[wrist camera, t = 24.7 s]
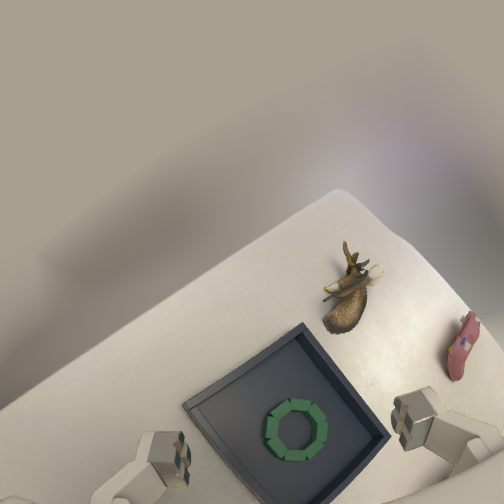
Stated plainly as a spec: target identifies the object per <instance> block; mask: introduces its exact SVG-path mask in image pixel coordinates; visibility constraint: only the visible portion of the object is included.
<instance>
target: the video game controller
mask: <svg viewBox="0 0 504 504" xmlns="http://www.w3.org/2000/svg"><path fill="white" fill-rule="evenodd" d="M463 317H464V315H463V316H462V317H461V319H460V323H461V321H462V326H461V328H460V330H459V332H458V334H457V336H456V338H455V340H454V344H453V345H452V347H451V346H450V347H449V348H448V351H449V352H448V354H447V357H448V372H449V376H450V378H451V379H452V380H455V381H458V380H460V379H461V378H462V376H463V374H464V366H465V361H466V359H467V357H468V355H469V353H470V351H471V349H472V347H473V345H474V343H475V342H476V341H477V339H478V337H479V333H480V329H479V327H480V320H481V319H480V318H478V316H477V315H476V314H475V313H473V312H471V311H469V313H468V314H467V315H466V316H465V317H464V318H463Z"/></svg>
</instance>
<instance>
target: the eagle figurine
mask: <svg viewBox="0 0 504 504" xmlns="http://www.w3.org/2000/svg"><path fill="white" fill-rule="evenodd" d="M343 251H344V254H345V255H346V259H347V263H348V268H347V271H346V275H347V277H344V278H342V279H340V280H339V281H337V282H335V283H333V284H331V285H330V286H328V287H324V289H325V290H328V291H330V292H334V291H336V292H334V293H333V294H332V295H331V296H329V297H327V298H326V299H324V300H323V302H326V301H327V300H329V299H330V298H333V297H343V298H342V300H341V301H340V303H339V304H338V305H337V307H336V308H335V309H333V310H332V311H331V312H329V314H327V315H326V316H325V317H324V318H323V320H324V321H325V323H324V325H325V326H326V327H327V331H330V332H331V334H333V333H336V334H340V333H341V332H343V333H345V332H346V331H347V332H349V331H350V330H352V329H353V328H354V327H355V326H356V325H357V324H358V322H359V320H360V318H361V316H362V314H363V312H364V308H365V306H366V303H367V294H366V293H367V292H366V286H367V285H369V286H374V285H376V284H377V283H378V281H379V279H380V278H381V277H382V274H383V269H382V267H381V266H379V265H375V266H374V267H372V268H371V269H370V270H369V272H368V271H367V270H365V269H363V268H361V267H365V266H366V265H367V264H368V263H369V259H368V260H367V261H365V262H363V263H358V264H356V261H357V258H358V255H359V253H357V252H356V253H354V254H353V255H352V256H351V255H350V253H349V251H348V248H347V243H346V242H345V241H343ZM364 270H365V272H364V274H361V273H360V271H364Z"/></svg>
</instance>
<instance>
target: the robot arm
mask: <svg viewBox="0 0 504 504" xmlns="http://www.w3.org/2000/svg"><path fill="white" fill-rule="evenodd" d="M393 404H394V406H395V408H394V410H393V411H392V414H391V423H392V427H393V429H394V431H395V433H397V434H399V435H400V439H399V441H400V443H401V445H402V447H403V449H404V451H405V452H406V451H409V450H412V449H415V448H418V447H421V446H424V447H425V448H427V449H429V450H430V451H432V452H433V453H435V454H437V455H438V456H440V457H441V458H443V459H445V460H446V461H448V462H450V463H451V464H453V465H455V467H454V469H453V470H452V472H451V474H450V476H449V478H448V479H446V480H444V481H441V482H439V483H437V484H434V485H432V486H430V487H427V488H425V489H422V490H420V491H417V492H415V493H412V494H409V495H407V496H404V497H401V498H398V499H395V500H392V501H389V502H386V503H383V504H504V437H503V436H502V435H501V433H500V432H499V431H498V429H497V428H496V427H495V426H492V425H490V424H487V423H484V422H482V421H479V420H477V419H474V418H471V417H469V416H466V415H464V414H461V413H459V412H456V411H454V410H449V411H448V409H447V408H446V406H445V405H444V404H443V402H442V401H441V400H440V398H439V397H438V395H437V394H436V393H435V391H434V390H433V389H432V387H430V386H428V387H425V388H422V389H419V390H416V391H413V392H410V393H406V394H403V395H400V396H397V397H396V398H395V399H394V403H393ZM184 438H185V437H184V435H183V433H182V431H144V432H143V433H142V435H141V438H140V442H139V445H138V449H137V452H136V456H135V460H134V461H130V462H129V463H128V464H127V465H126V466H125V467H123V468H122V469H121V470H120V471H119V472H117V473H116V474H115V475H114V476H113V477H111V478H110V479H109V480H108V481H107V482H105V483H104V484H103V485H102V486H100V487H99V488H98V489H97V490H95V491H94V492H93V493H92V496H91V499H90V502H89V504H155V503H156V501H157V500H158V499H159V498H160V497H161V495H162V494H163V493H164V492H165V491H166V489H167V487H188V484H189V475H190V474H189V472H188V470H187V468H188V467H189V466H190V465H191V452H190V448H189V446H188V444H187V443H186V442H184ZM0 504H39V503H36V502H33V501H30V500H27V499H24V498H22V497H19V496H9V497H7V498H5V499H3V500H1V501H0Z"/></svg>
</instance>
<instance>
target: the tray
mask: <svg viewBox="0 0 504 504" xmlns="http://www.w3.org/2000/svg"><path fill="white" fill-rule="evenodd" d="M290 398H296V399H304V400H311V403H314V402H315V403H316V405H317V406H318V407H319V408H320V410H321V411H322V412H323V413H324V415H325V416H326V417H327V419H325V420H324V421H327V422H328V432H327V442H322V443H323V444H324V445H325V446H324V447H323V448H322V449H321V450H320V451H319V452H318V453H317V454H316V455H314V456H313V457H312V458H311V459H310V460H306V461H284V460H280V458H276V457H275V456H274V455H273V454H272V453H271V451H270V450H269V449H268V448H267V447H266V445H265V444H264V443H263V442H264V441H265V440H266V439H265V438H262V432H263V424H264V417H267V416H268V415H267V412H269V411H270V410H271V409H272V408H274V407H275V406H276V405H278V404H279V403H280V402H281V401H283V400H286V399H290ZM182 407H183V408H184V409H185V411H186V412H187V414H188V415H189V416H190V418H191V419H192V420H193V422H194V423H195V424H196V426H197V427H198V429H199V430H200V431H201V432H202V434H203V435H204V436H205V438H206V439H207V440H208V442H209V443H210V444H211V445H212V447H213V448H214V449H215V450H216V452H217V453H218V454H219V455H220V457H221V458H222V459H223V460H224V461H225V463H226V464H227V465H228V466H229V467H230V469H231V470H232V471H233V472H234V473H235V475H236V476H237V477H238V478H239V479H240V480H241V481H242V483H243V484H244V485H245V486H246V487H247V488H248V489H249V490H250V492H251V493H252V494H253V495H254V496H255V497H256V498H257V499H258V500H259V501H260V502H261V503H262V504H329V503H330V502H331V501H333V500H334V499H335V498H336V497H337V496H338V495H339V494H340V493H341V492H342V491H343V490H344V489H345V488H346V487H347V486H348V485H349V484H350V483H351V482H352V481H353V480H354V479H355V478H356V477H357V475H358V474H359V473H360V472H361V471H362V470H363V469H364V468H365V467H366V466H367V465H368V464H369V462H370V461H371V460H372V459H373V458H374V457H375V456H376V454H377V453H378V452H379V451H380V450H381V449H382V447H383V446H384V445H385V444H386V443H387V441H388V440H389V439H390V438H391V435H390V433H389V432H388V431H387V430H386V428H385V427H384V426H383V424H382V423H381V422H380V421H379V419H378V418H377V417H376V415H375V414H374V413H373V412H372V410H371V409H370V408H369V406H368V405H367V404H366V403H365V401H364V400H363V399H362V397H361V396H360V395H359V394H358V392H357V391H356V390H355V388H354V387H353V386H352V385H351V383H350V382H349V381H348V379H347V378H346V377H345V376H344V374H343V373H342V372H341V370H340V369H339V368H338V367H337V365H336V364H335V363H334V361H333V360H332V359H331V358H330V356H329V355H328V354H327V352H326V351H325V350H324V349H323V347H322V346H321V345H320V343H319V342H318V341H317V340H316V338H315V337H314V336H313V334H312V333H311V332H310V331H309V329H308V328H307V327H306V325H305V324H304V323H303V322H302V323H300V324H299V325H298V326H296V327H295V328H294V329H292V330H291V331H290V332H288V333H287V334H286V335H284V336H283V337H281V338H280V339H279V340H277V341H276V342H274V343H273V344H272V345H270V346H269V347H267V348H266V349H265V350H263V351H262V352H260V353H259V354H257V355H256V356H255V357H253V358H252V359H250V360H249V361H247V362H246V363H244V364H243V365H241V366H240V367H238V368H237V369H235V370H234V371H232V372H231V373H229V374H228V375H226V376H225V377H223V378H222V379H220V380H219V381H217V382H216V383H214V384H213V385H211V386H210V387H208V388H206V389H205V390H203V391H202V392H200V393H199V394H197V395H195V396H194V397H192V398H191V399H189V400H187V401H186V402H184V403H183V404H182ZM312 425H313V424H312V423H311V422H310V421H309V419H308V418H307V417H306V416H305V414H304V413H303V412H293V411H290V412H289V413H288V414H287V415H285V416H284V417H283V418H282V419H280V421H279V430H278V437H279V439H280V440H281V441H282V442H283V443H284V445H285V446H286V447H287V448H288V449H295V450H300V449H301V448H302V447H303V446H304V445H306V444H307V443H308V442H309V441H310V440H311V436H312Z"/></svg>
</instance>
